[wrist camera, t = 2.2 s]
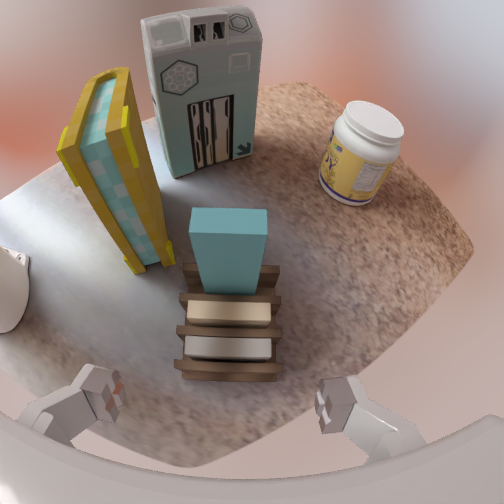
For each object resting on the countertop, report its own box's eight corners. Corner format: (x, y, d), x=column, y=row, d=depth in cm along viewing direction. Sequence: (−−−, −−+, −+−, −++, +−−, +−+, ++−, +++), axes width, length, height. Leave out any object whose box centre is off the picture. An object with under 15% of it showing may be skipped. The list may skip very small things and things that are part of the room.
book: (175, 264, 40) (126, 126, 18) (134, 274, 39) (56, 151, 17) (162, 184, 48) (133, 62, 26) (128, 193, 46) (86, 77, 24)
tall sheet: (208, 304, 36) (188, 232, 20) (209, 287, 37) (192, 207, 21) (252, 305, 36) (267, 234, 21) (252, 289, 38) (266, 209, 22)
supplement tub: (311, 161, 53) (331, 92, 38) (363, 166, 54) (391, 104, 39) (324, 208, 47) (354, 134, 32) (381, 210, 48) (421, 147, 33)
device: (173, 180, 48) (146, 26, 22) (164, 157, 51) (140, 19, 25) (252, 156, 52) (265, 12, 26) (237, 135, 56) (243, 5, 29)
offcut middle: (195, 331, 34) (186, 317, 28) (196, 316, 35) (188, 300, 29) (264, 333, 35) (270, 320, 29) (263, 318, 36) (270, 302, 29)
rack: (183, 378, 32) (173, 376, 27) (191, 269, 40) (185, 248, 34) (274, 381, 33) (282, 380, 27) (272, 272, 41) (278, 251, 35)
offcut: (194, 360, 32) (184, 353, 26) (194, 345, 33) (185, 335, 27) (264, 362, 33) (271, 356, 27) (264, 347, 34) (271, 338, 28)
